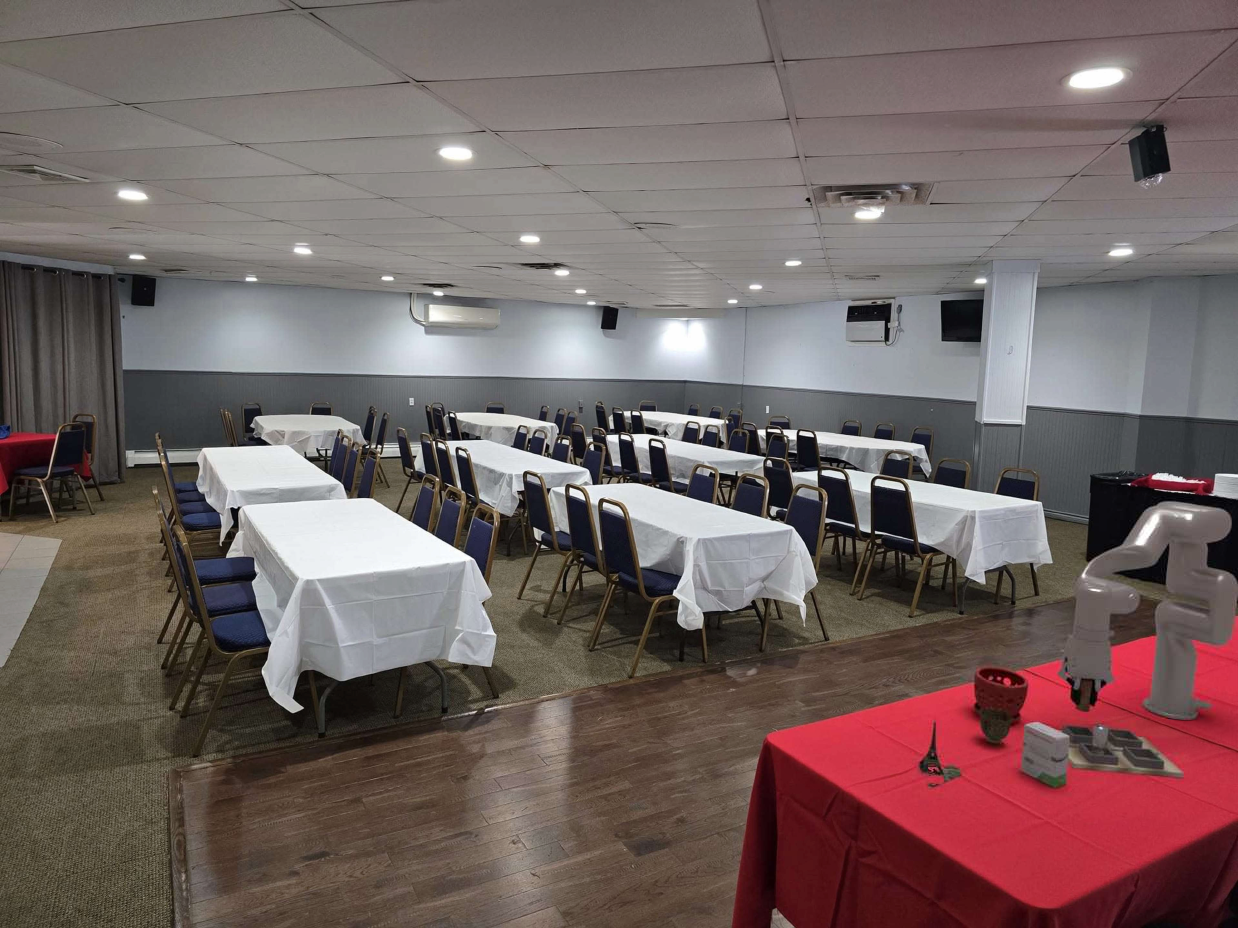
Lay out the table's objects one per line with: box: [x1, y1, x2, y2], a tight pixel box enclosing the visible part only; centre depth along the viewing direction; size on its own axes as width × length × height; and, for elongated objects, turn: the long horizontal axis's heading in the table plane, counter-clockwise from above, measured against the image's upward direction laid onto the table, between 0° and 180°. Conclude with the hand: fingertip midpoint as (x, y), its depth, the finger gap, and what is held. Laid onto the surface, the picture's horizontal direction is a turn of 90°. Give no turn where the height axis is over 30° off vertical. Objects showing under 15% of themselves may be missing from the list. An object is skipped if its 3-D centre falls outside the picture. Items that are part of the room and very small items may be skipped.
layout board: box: [1056, 723, 1184, 779], centre depth 193 cm, size 24×18×9 cm
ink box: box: [1020, 721, 1070, 789], centre depth 181 cm, size 9×5×12 cm, turn 26°
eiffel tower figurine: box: [917, 718, 963, 789], centre depth 183 cm, size 15×10×13 cm
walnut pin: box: [1075, 678, 1093, 713], centre depth 198 cm, size 3×3×8 cm
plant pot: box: [973, 666, 1029, 724], centre depth 213 cm, size 13×13×12 cm
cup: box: [979, 707, 1012, 746], centre depth 198 cm, size 8×7×8 cm
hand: (1083, 702), depth 198 cm, fingers closed on walnut pin, 3 cm apart
